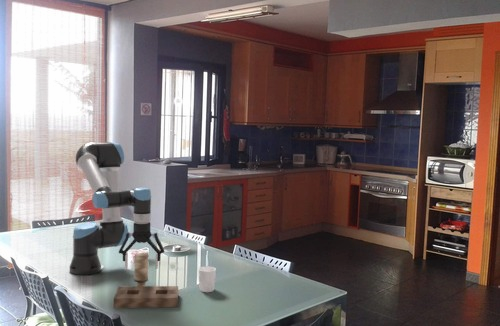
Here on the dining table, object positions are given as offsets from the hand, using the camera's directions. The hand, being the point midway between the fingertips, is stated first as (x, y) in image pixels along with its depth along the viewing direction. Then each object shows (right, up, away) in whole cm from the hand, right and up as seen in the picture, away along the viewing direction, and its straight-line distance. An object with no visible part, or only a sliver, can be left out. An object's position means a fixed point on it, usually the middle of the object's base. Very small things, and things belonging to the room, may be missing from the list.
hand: (141, 268), depth 226 cm
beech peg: (-1, -10, +1) cm, 10 cm away
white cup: (+29, -11, +3) cm, 32 cm away
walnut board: (+5, -11, -13) cm, 18 cm away
